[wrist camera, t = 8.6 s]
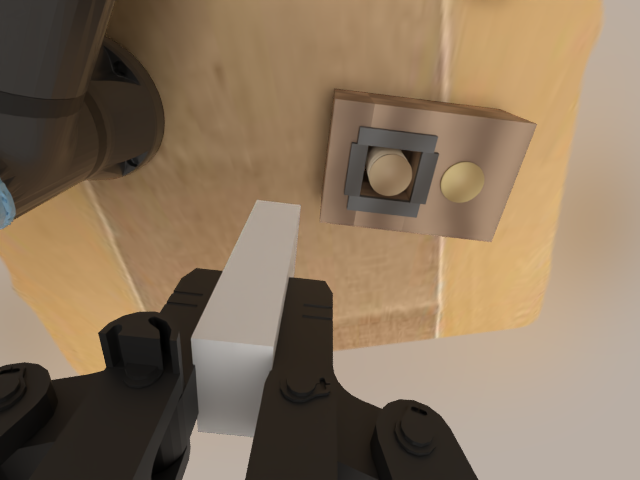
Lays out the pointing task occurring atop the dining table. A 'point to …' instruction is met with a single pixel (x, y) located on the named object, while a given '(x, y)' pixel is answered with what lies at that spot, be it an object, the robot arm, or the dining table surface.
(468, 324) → the dining table surface
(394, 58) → the dining table surface
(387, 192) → the oak peg
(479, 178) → the socket block
